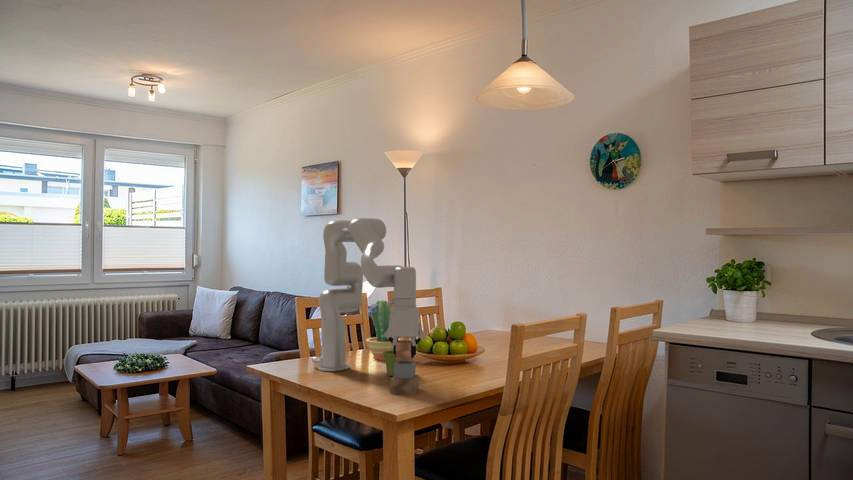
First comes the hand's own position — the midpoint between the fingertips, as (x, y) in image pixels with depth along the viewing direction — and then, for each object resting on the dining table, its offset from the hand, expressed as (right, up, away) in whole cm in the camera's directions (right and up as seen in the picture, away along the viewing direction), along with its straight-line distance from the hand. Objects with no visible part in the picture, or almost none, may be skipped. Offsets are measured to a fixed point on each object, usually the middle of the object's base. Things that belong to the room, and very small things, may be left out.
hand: (404, 356), depth 198 cm
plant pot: (-5, -12, +24) cm, 27 cm away
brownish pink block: (0, -1, 0) cm, 1 cm away
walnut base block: (0, -12, 0) cm, 12 cm away
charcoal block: (0, -7, 0) cm, 7 cm away
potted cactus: (-12, -12, +58) cm, 60 cm away
